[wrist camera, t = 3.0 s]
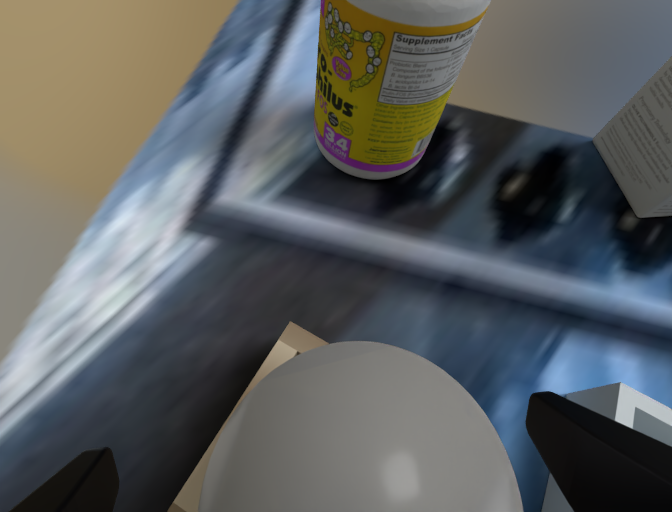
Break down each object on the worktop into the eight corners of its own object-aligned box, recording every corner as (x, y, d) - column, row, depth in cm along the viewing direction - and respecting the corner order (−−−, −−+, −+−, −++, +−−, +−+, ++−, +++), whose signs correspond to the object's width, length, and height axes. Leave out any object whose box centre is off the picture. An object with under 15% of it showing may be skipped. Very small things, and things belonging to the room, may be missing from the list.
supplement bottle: (304, 106, 23) (311, -235, 11) (405, 99, 24) (502, -215, 13) (324, 192, 20) (363, -152, 9) (438, 179, 21) (604, -136, 10)
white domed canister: (345, 572, 12) (463, 865, 4) (237, 498, 13) (116, 594, 4) (398, 444, 14) (557, 433, 6) (302, 385, 15) (309, 293, 6)
